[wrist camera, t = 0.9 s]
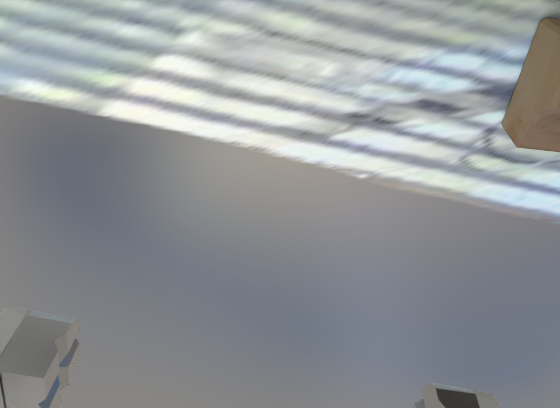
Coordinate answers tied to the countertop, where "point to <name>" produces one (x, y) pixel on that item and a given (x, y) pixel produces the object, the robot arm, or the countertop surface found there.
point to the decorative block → (538, 93)
